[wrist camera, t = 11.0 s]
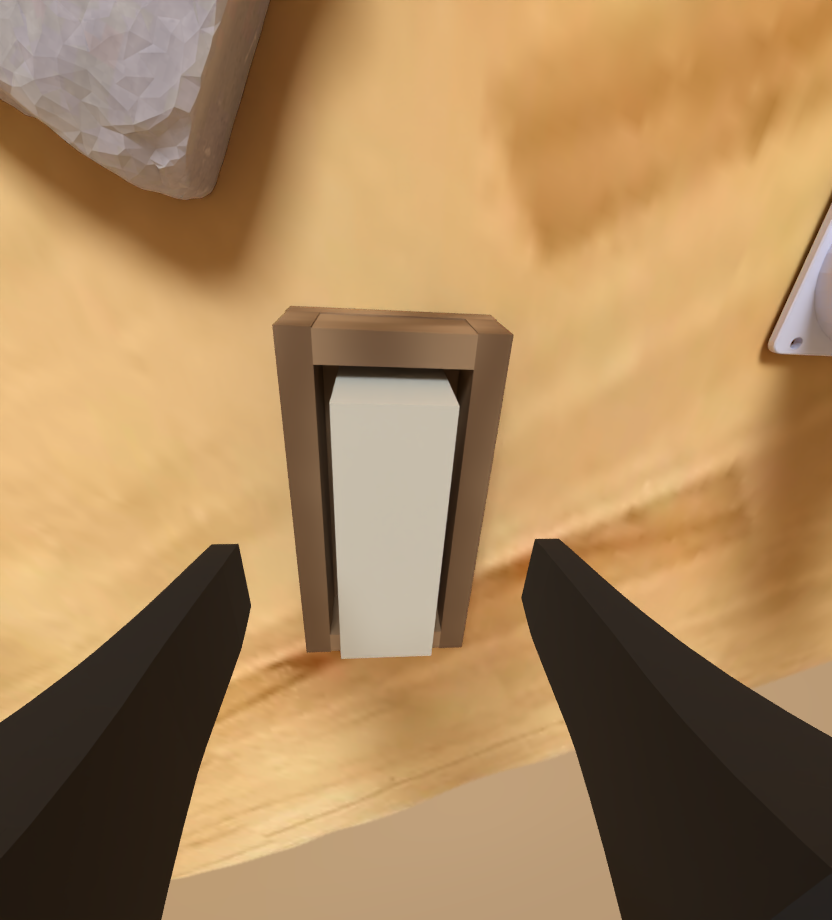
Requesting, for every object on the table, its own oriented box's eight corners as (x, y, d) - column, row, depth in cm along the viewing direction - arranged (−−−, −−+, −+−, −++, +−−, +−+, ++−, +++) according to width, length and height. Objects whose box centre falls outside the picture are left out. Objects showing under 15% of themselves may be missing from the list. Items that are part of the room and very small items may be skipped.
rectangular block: (440, 364, 17) (459, 406, 13) (421, 581, 23) (431, 655, 19) (340, 361, 17) (329, 403, 13) (347, 583, 22) (341, 658, 19)
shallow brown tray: (490, 315, 17) (515, 334, 14) (452, 595, 25) (462, 647, 22) (290, 306, 16) (270, 324, 13) (314, 598, 24) (305, 652, 21)
